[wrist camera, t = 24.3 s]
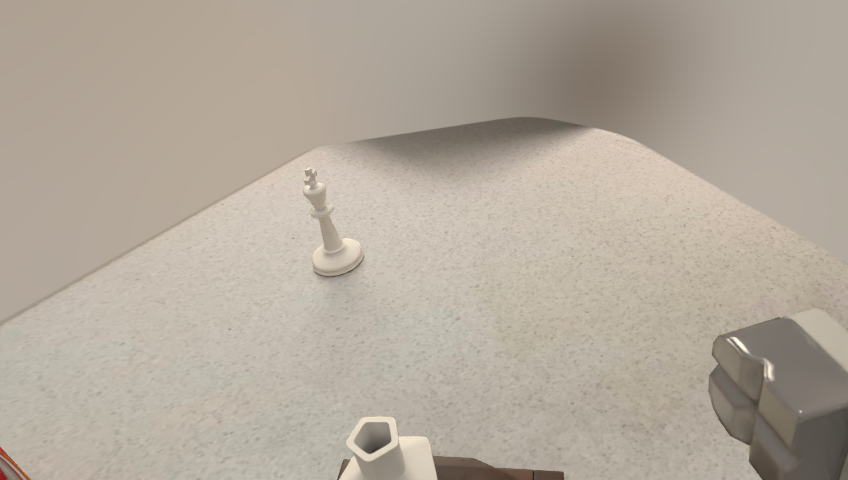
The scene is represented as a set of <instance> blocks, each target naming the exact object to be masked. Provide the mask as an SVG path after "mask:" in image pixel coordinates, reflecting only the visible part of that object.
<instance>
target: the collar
mask: <svg viewBox="0 0 848 480" xmlns="http://www.w3.org/2000/svg"><path fill="white" fill-rule="evenodd" d="M432 457H433V461H434V466H435V470H436V475H437V479H438V480H564V473H563V472H559V471H541V470H535V471H533V470H525V469H508V468H495V467H492V466H490V465H488V464H486V463H483V462H481V461H479V460H477V459H473V458H460V457H441V456H432ZM349 462H350V460H347V459H344V460H343V463H342V466H341V469H340V473H339V476H338V479H337V480H339V479H340V477H341V475H342V474H343V472H344V470H345V469H346V467H347V465H348V464H349Z"/></svg>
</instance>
